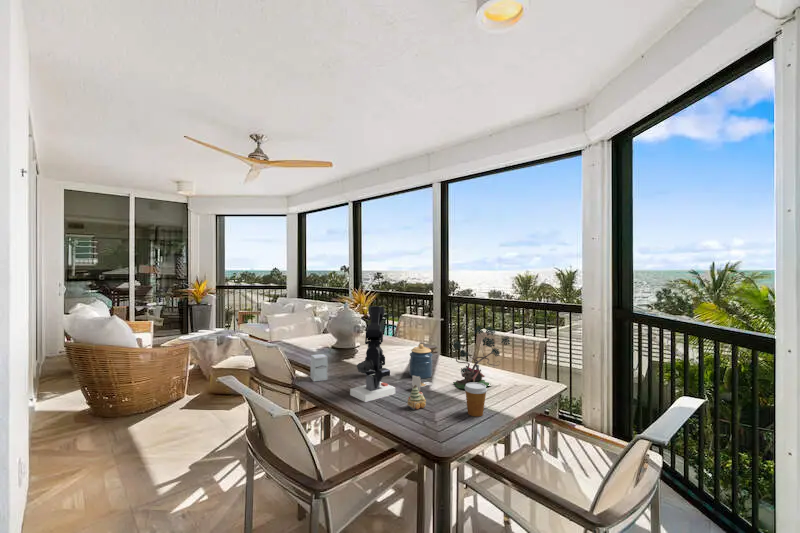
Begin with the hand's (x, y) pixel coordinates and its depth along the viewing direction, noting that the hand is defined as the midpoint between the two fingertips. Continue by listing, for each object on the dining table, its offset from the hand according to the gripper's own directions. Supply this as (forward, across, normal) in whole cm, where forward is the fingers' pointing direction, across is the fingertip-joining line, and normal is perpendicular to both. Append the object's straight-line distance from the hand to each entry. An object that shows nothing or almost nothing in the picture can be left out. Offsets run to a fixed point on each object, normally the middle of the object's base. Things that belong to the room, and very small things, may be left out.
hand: (373, 387), depth 187 cm
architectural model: (+4, +9, +21) cm, 23 cm away
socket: (+4, 0, 0) cm, 4 cm away
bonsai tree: (+4, +26, +51) cm, 57 cm away
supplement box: (+4, -37, -8) cm, 38 cm away
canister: (+4, -8, +40) cm, 41 cm away
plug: (+2, 0, 0) cm, 2 cm away
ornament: (+4, +25, +5) cm, 26 cm away
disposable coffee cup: (+4, +46, +19) cm, 50 cm away
